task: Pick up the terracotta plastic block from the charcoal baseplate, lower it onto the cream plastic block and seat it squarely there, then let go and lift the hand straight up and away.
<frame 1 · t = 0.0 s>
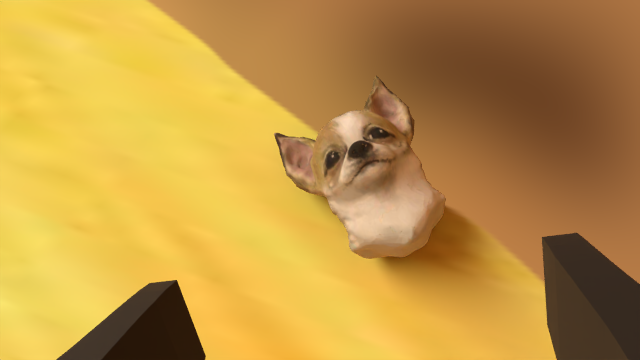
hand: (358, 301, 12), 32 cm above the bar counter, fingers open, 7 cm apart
ceramic sculpture: (373, 189, 48), on the bar counter
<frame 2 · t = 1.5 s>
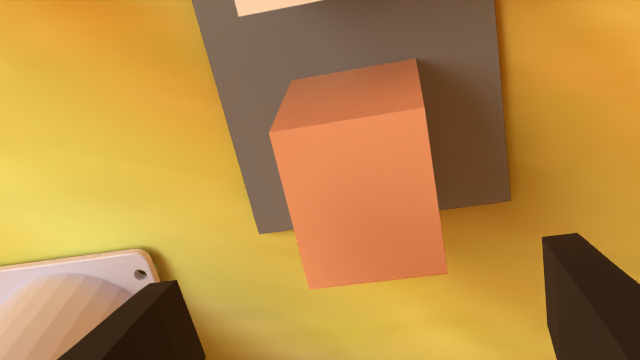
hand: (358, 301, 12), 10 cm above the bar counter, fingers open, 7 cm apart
terracotta block: (366, 141, 21), resting on baseplate
baseplate: (344, 19, 19), on the bar counter
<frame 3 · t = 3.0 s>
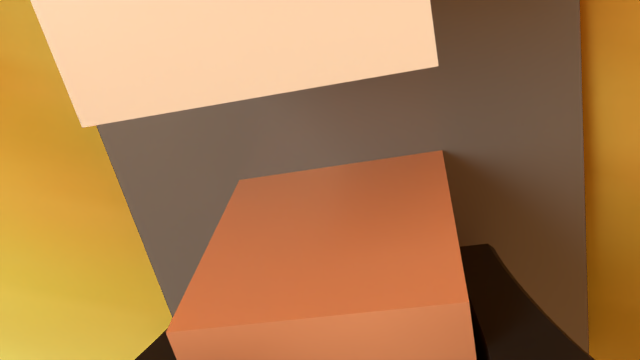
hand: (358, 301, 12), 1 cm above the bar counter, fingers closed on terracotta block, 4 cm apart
terracotta block: (360, 271, 13), resting on baseplate, touching gripper
baseplate: (323, 85, 12), on the bar counter
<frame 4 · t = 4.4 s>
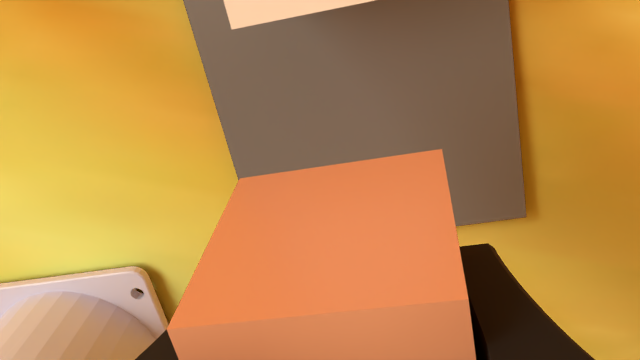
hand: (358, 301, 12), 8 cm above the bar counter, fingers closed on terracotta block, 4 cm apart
terracotta block: (360, 269, 13), point 7 cm above the bar counter, touching gripper
baseplate: (348, 27, 18), on the bar counter
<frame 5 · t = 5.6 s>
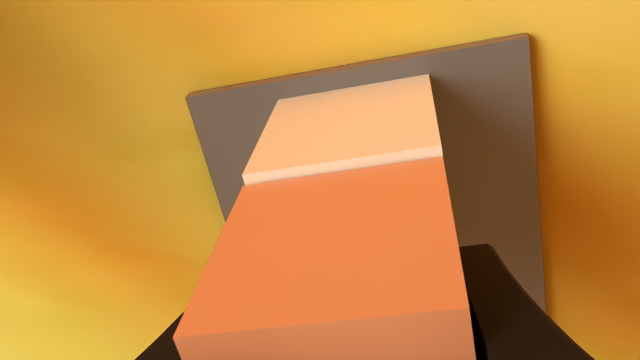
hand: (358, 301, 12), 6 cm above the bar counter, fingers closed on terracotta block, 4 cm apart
terracotta block: (362, 275, 13), point 5 cm above the bar counter, touching gripper
cream block: (368, 171, 17), resting on baseplate
baseplate: (391, 279, 19), on the bar counter
when the fingers open (6 cm above the bar counter, at t = 6.1 s): terracotta block stays where it is, resting on cream block.
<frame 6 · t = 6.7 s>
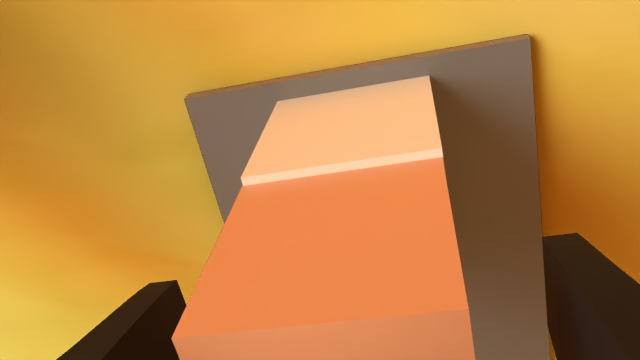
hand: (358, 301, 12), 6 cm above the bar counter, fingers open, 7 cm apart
terracotta block: (361, 275, 13), point 5 cm above the bar counter, touching cream block
cream block: (368, 173, 17), resting on baseplate, touching terracotta block
baseplate: (391, 281, 19), on the bar counter
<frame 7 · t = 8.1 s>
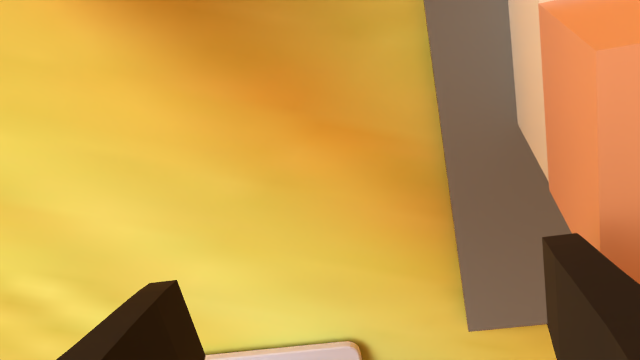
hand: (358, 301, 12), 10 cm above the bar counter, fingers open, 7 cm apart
terracotta block: (628, 89, 15), point 5 cm above the bar counter, touching cream block
cream block: (578, 39, 19), resting on baseplate, touching terracotta block
baseplate: (578, 151, 21), on the bar counter
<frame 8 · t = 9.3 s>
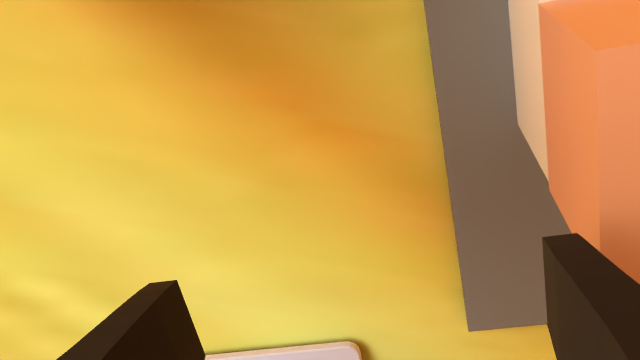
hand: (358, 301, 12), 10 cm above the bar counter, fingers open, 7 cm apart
terracotta block: (628, 89, 15), point 5 cm above the bar counter, touching cream block
cream block: (578, 39, 19), resting on baseplate, touching terracotta block
baseplate: (578, 151, 21), on the bar counter
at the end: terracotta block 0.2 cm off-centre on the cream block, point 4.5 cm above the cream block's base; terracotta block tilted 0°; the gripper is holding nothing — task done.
